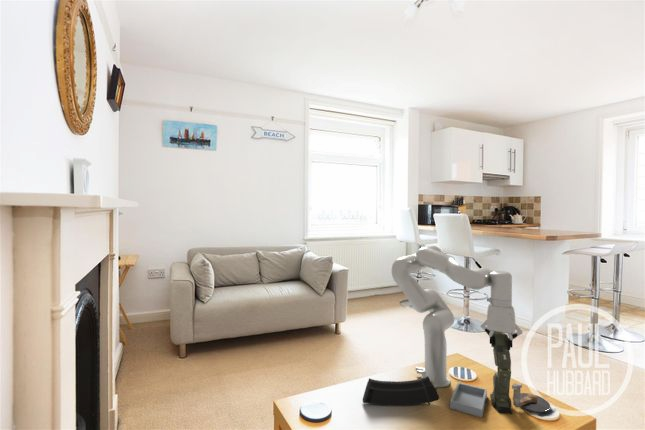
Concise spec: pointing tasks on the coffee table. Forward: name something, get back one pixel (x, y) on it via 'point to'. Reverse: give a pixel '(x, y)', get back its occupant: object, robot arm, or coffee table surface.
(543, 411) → the crank base
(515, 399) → the crank
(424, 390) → the magazine
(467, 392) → the tray
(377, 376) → the coffee table surface
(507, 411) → the mechanical leg
